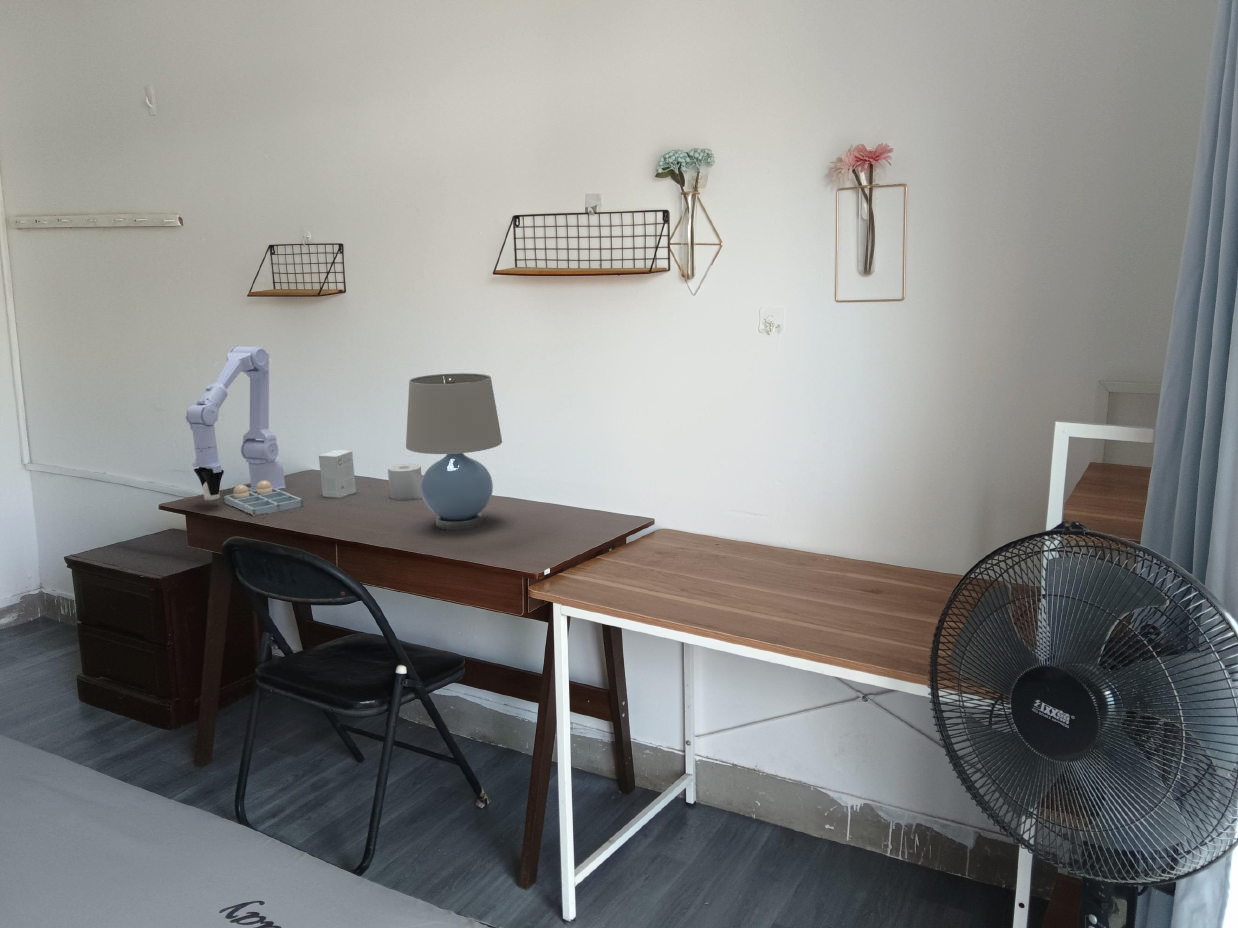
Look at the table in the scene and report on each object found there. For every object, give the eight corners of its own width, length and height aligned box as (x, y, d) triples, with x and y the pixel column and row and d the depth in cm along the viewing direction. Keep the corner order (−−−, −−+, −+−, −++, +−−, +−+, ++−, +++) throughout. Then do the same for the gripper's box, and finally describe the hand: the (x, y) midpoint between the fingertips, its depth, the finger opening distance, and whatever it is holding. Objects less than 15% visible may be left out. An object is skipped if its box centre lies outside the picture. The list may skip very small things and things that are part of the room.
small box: (339, 491, 284) (335, 449, 281) (356, 492, 282) (353, 450, 279) (322, 498, 277) (318, 455, 274) (340, 499, 275) (336, 456, 272)
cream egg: (217, 495, 271) (214, 477, 269) (222, 497, 268) (220, 480, 266) (202, 498, 268) (199, 480, 267) (207, 500, 265) (204, 482, 264)
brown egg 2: (269, 495, 279) (267, 478, 278) (275, 497, 276) (273, 480, 275) (255, 498, 276) (253, 480, 275) (261, 500, 273) (259, 483, 272)
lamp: (405, 517, 255) (394, 375, 246) (494, 506, 263) (487, 369, 254) (419, 542, 232) (408, 387, 223) (516, 530, 240) (509, 380, 232)
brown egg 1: (246, 499, 275) (244, 482, 273) (252, 502, 272) (250, 484, 270) (232, 502, 272) (230, 484, 271) (238, 505, 269) (235, 487, 268)
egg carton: (272, 494, 282) (271, 486, 281) (303, 507, 266) (302, 499, 266) (224, 504, 272) (223, 496, 271) (253, 518, 257) (252, 509, 256)
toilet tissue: (436, 497, 275) (434, 468, 273) (390, 500, 272) (387, 472, 270) (435, 489, 284) (433, 462, 282) (390, 493, 281) (387, 465, 279)
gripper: (182, 445, 267) (188, 491, 270) (200, 452, 256) (206, 500, 260) (207, 441, 272) (213, 486, 275) (226, 448, 261) (232, 495, 264)
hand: (211, 493), depth 267 cm, fingers closed on cream egg, 4 cm apart
